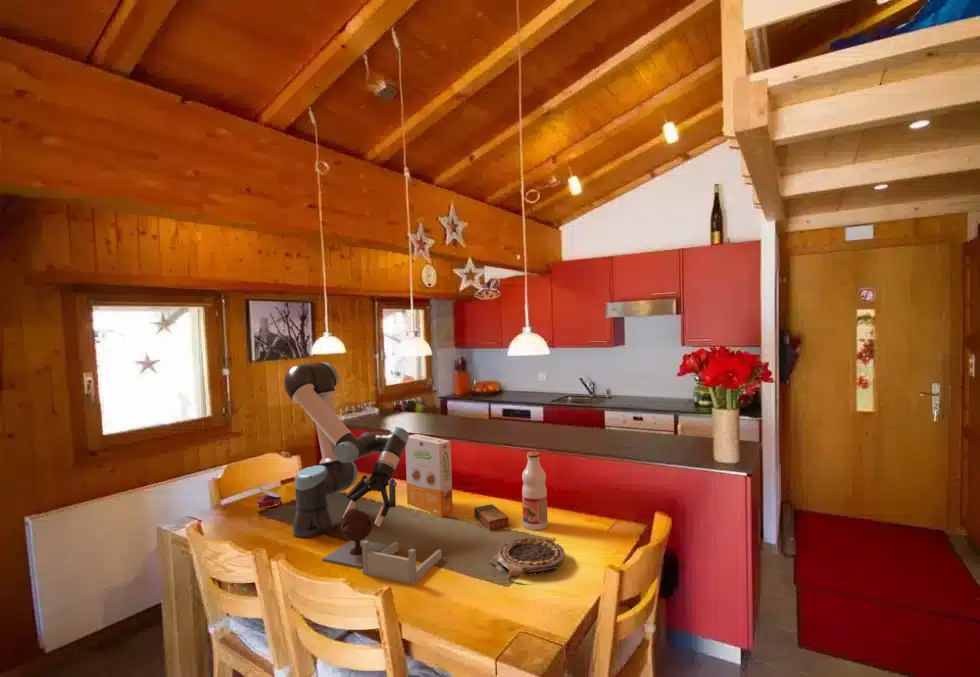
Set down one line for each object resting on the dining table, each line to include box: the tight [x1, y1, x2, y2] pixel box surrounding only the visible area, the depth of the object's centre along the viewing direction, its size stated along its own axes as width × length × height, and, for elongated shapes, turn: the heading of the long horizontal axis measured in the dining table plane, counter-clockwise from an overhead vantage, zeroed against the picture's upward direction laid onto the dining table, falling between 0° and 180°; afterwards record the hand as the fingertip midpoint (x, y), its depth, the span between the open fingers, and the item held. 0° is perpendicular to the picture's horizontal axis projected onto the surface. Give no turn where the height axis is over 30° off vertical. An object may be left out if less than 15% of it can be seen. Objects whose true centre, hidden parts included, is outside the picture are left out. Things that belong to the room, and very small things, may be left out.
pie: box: [488, 537, 566, 585], centre depth 159 cm, size 28×27×5 cm
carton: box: [474, 503, 510, 532], centre depth 194 cm, size 8×16×4 cm, turn 23°
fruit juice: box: [521, 451, 549, 531], centre depth 188 cm, size 9×9×28 cm
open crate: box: [362, 540, 443, 586], centre depth 159 cm, size 19×17×10 cm
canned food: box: [256, 486, 282, 507], centre depth 221 cm, size 11×10×10 cm
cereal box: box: [404, 433, 454, 518], centre depth 209 cm, size 22×6×30 cm, turn 47°
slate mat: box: [322, 539, 391, 570], centre depth 169 cm, size 16×16×1 cm
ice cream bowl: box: [340, 508, 374, 555], centre depth 169 cm, size 11×11×15 cm
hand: (360, 522), depth 169 cm, fingers open, 13 cm apart
